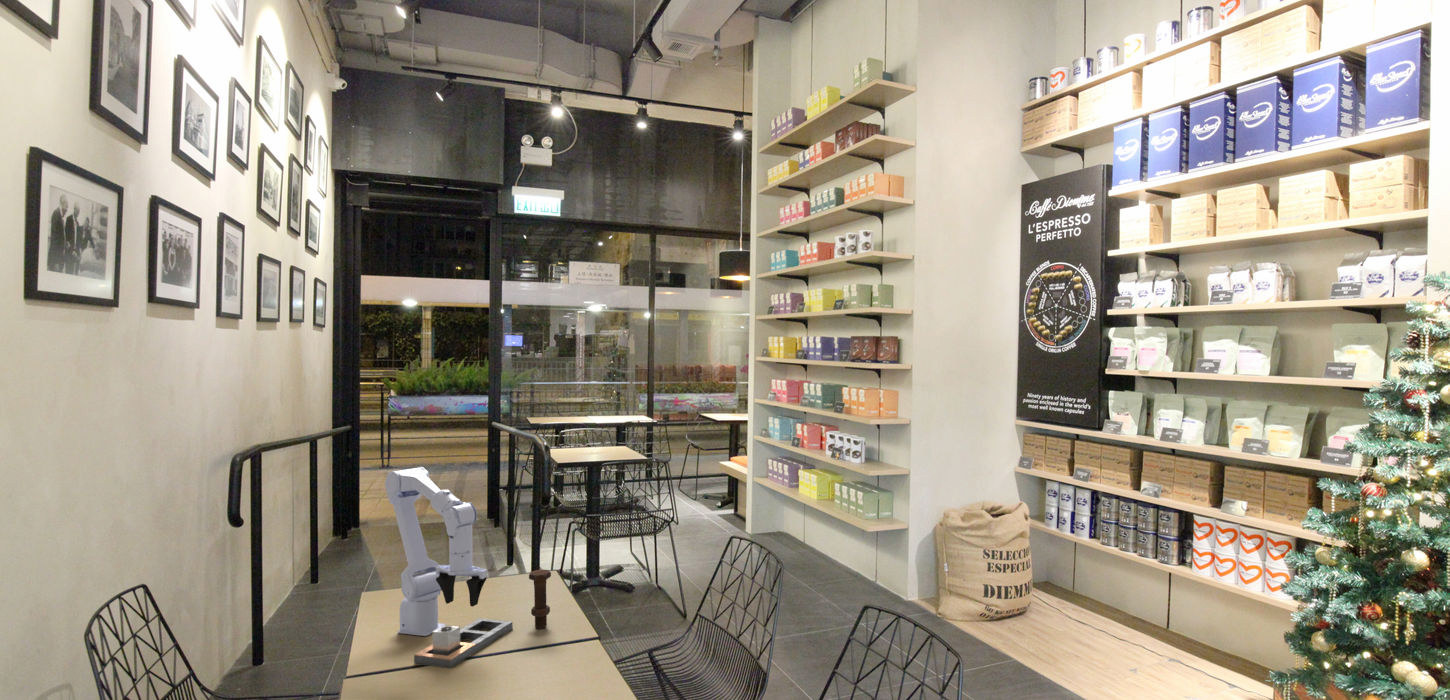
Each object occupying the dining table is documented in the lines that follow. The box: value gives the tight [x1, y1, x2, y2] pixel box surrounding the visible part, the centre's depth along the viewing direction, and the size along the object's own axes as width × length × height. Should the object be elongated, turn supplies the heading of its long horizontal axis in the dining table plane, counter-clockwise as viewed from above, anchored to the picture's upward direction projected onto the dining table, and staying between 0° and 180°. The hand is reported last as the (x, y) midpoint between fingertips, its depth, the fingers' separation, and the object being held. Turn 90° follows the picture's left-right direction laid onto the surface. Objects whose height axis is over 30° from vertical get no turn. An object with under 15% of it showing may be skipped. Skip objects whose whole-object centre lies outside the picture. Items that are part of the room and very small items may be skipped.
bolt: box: [528, 569, 552, 629], centre depth 199 cm, size 6×5×15 cm
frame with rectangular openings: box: [413, 617, 514, 669], centre depth 187 cm, size 10×26×2 cm, turn 163°
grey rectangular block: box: [432, 624, 461, 656], centre depth 180 cm, size 4×4×7 cm
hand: (461, 603), depth 189 cm, fingers open, 7 cm apart
